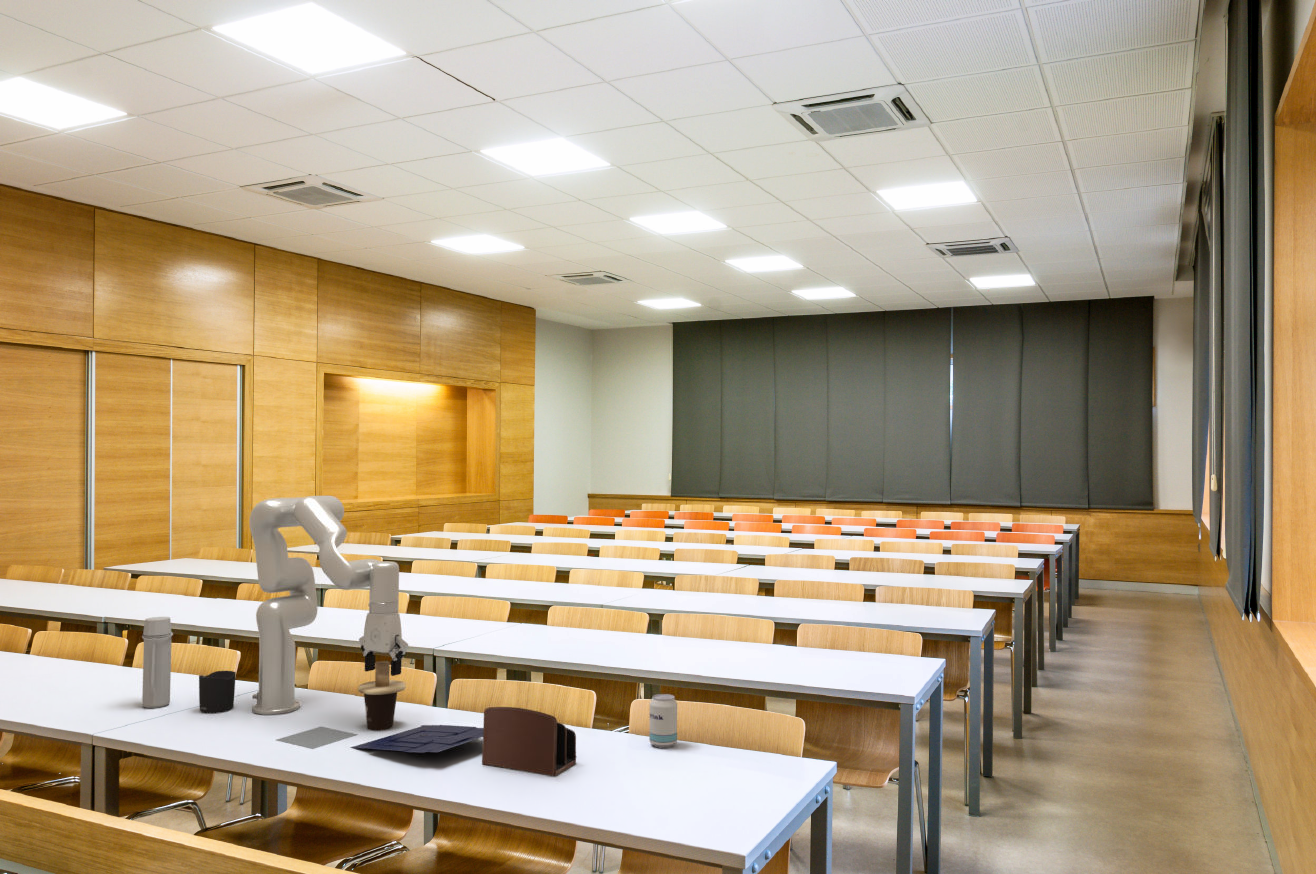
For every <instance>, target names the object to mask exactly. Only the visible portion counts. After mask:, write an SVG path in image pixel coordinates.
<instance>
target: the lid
mask: <svg viewBox="0 0 1316 874" xmlns="http://www.w3.org/2000/svg"><path fill="white" fill-rule="evenodd" d="M374 672H375V673H374V674H375V675H374V677H375V678H374V680H373V681H368V682H364V683H361V684H359V685H358V692H359V693H360V694H363V695H364V694H370V695H382V694H391V693H396V692H397V693H400V692H402V691H404V690H406V688H407V687H406V682H404V681H402V680H396V679H395V680H394V679H390V673H391V661H388V660H387V661H385V660H383V661H375V671H374Z"/></svg>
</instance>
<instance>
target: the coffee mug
mask: <svg viewBox="0 0 1316 874" xmlns="http://www.w3.org/2000/svg"><path fill="white" fill-rule="evenodd" d="M397 697H398V692H396V693H391V694H382V695H370V694H363V698H364V708H365V719H366V728H367V730H368V731H375V732H377V731H379V732H380V731H388V730H389V729H390V730H391V729H392V728H393V727H394V721H395V720H394V719H395V713H396V704H397Z"/></svg>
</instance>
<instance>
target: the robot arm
mask: <svg viewBox="0 0 1316 874" xmlns="http://www.w3.org/2000/svg"><path fill="white" fill-rule="evenodd" d="M344 514H345V507H344V505H343V503H342V501H341V500H340V499H339V498H338V497H336V496H333V495H309V496H308V495H307V496H303V497H274V498H267V499H264V500H261V501H260V502H258V503H257V504H256V505H254V507H253V509H252V510H251V513H250V514H249V529H250V534H251V537H252V541H253V545H254V551H255V552H254V553H255V561H256V562H255V563H256V571H257V581H258V585H259V587H260V589H261V591H262V592H264V593H269V594H275V593H284V592H289V595H285V596H284V595H282V596H278V597H273V598H268V599H266V600H264V601H263V602H262V603H260V604H259V605H258V607H257V609H256V613H255V619H256V626H257V631H258V640H259V643H258V645H259V646H258V647H259V648H258V649H259V651H258V652H259V654H258V656H259V659H258V663H259V664H258V691H257V692H256V693H253V695H252V698H253V700H254V699H255V700H256V704H254V705H253V706H251V707H252V709H251V710H252V713H254V714H257V715H280V714H286V713H290V712H291V713H292V712H294V711H296V710H298V709H299V708H300V707H301V702H300V701H299V700H295V693H296V692H295V690H296V688H295V687H296V685H295V684H296V642H295V640H294V638H293V636H292V633H291V631H290V630H292V629H297V628H303V627H306V626H309V625H311V624H312V623H313V622H314V621H315V620H316V619H317V616H318V598H317V590H316V579H315V572H314V569H313V567H312V565H311V563H310V562H309V561H308V560H307V559H305V558H303V557H297V556H296V557H289V554H288V552H289V551H288V545H287V541H286V540H285V537H284V535H282V533H281V532H280V530H279V528H292V527H293V528H294V527H297V528H298V527H301V528H302V529H303V530H304V531H305V533H307V534H308V536H309V537H310V538H311V539H312V540H313V541H314V543H315V544H316V545H317V547H318V548H319V550H318V559H319V565H320V569H321V570H322V572H323V574H325V576H326V577H327V578H328V579H329V580H330V582H331V583H332V584H333V585H334V586H336V587H337V588H338V589H340V590H344V591H349V590H355V589H360V588H361V589H363V588H369V593H368V594H369V600H368V601H369V602H368V607H369V608H368V612H367V613H366V616H365V617H366V618H365V622H364V628H363V630H364V631H363V635H362V636H360V637H359V638H358V643H359V645H360V650H361V651H362V655H363V657H364V672H372V671H374V670H375V667H376V654H375V653H379V654H380V653H381V654H388V653H389V655H390V657H391V658H392V659H391V661H390V676H391V677H395V676H399V675H401V674H402V660H403V659H404V656H406V655H407V651H408V648H409V647H410V646H409V643H408V642H406V641H405V640H404V639H403V638H402V637H403V635H402V634H403V633H402V623H401V616H400V613H399V600H400V599H399V598H400V597H399V595H400V593H399V592H400V591H399V590H400V588H399V585H400V566H399V564H398V563H397V562H396V561H389V560H388V561H387V560H385V561H383V560H382V561H381V560H379V559H375V558H365V559H357V560H356V559H355V560H346V559H345V558H344V556H342V555H341V553H340V552H339V550H338V548H339V547H340V546H341V545H342V544H343V543H344V542H345V540H346V538H347V535H348V531H347V528H346V527H345V526H344V525H343V524H342V522H341V521H342V519H343V518H344V516H345V515H344Z"/></svg>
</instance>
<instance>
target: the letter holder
mask: <svg viewBox="0 0 1316 874" xmlns="http://www.w3.org/2000/svg"><path fill="white" fill-rule="evenodd" d="M482 728H483V737H482V751H481V752H482V754H481V755H482V756H481V764H482V765H483V766H490V767H497V768H500V769H501V768H502V769H508V770H515V771H519V772H525V773H531V774H538V775H542V776H547V777H548V776H549V777H554V778H555V777H556V776H558V775H560V774H562V773H564V772H565V771H566V770H568V769H570V768H572V767H573V766H575V765H576V764H577V736H576V733H575V731H574V730H573V729H570V728H568V727H566V725H564V724H563V723H560V722H558V721H557V718H556V717H555V716H554V715H552V714H548V713H546V712H541V711H537V710H533V709H527V708H522V707H513V706H489V707H486V708H485V709H484V711H483V727H482Z"/></svg>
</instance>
